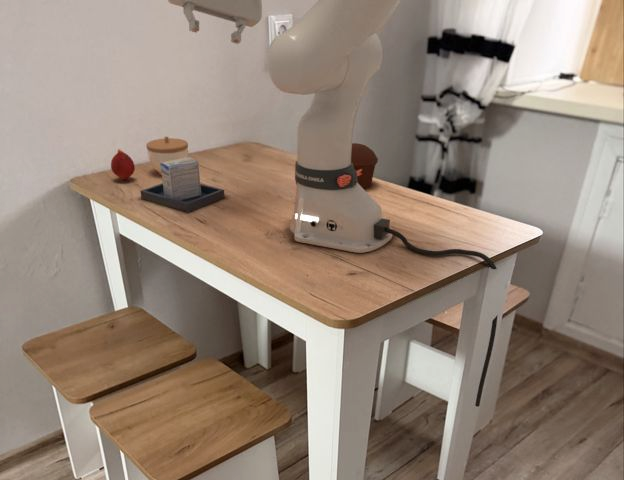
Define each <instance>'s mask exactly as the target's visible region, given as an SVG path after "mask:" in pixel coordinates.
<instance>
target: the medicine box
mask: <svg viewBox="0 0 624 480" xmlns="http://www.w3.org/2000/svg"><path fill="white" fill-rule="evenodd" d="M160 165H161V173H162V175H161V180H162V183H163V189H164V196H166V197H169V198H173V199H176V200H180V201H182V200H186V199H190V198H194V197H198V196H201V186H200V184H201V176H200V166H199V165H200V163H199V161H197V160H196V159H194V158H192V157H190V156H188V157H187V158H182V159H176V160H171V161H166V162H162V163H160Z"/></svg>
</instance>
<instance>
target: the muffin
mask: <svg viewBox="0 0 624 480" xmlns="http://www.w3.org/2000/svg"><path fill="white" fill-rule="evenodd" d="M351 162H352V164H353V167H354V169H355V171H358V170H360V169H362V171H361V172H360V173H362V174H361V175H359V176H357V180H358V182H357V183H358V184H359V185H360V186H361V187H362V188H363V189H364V190H366V189H370V188H371V186H372V182H373V177H374V173H375V169H376V165H377V163H378V162H379V158H378V157H377V155H376V153H375V152H374V150H373V149H371V148H370V147H368V146H367V145H366V144H364V143H363V144H362V143H358V142H355V143H354V142H352V152H351ZM360 173H359V174H360Z"/></svg>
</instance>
